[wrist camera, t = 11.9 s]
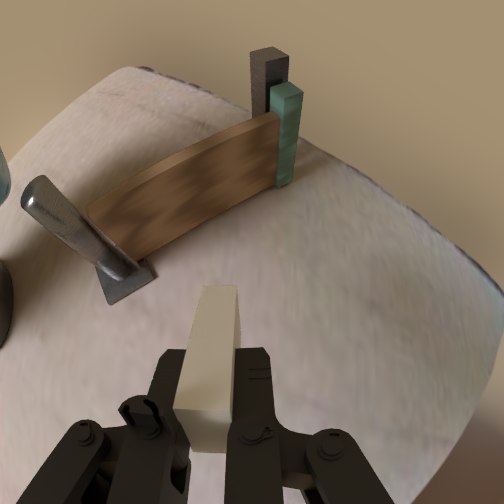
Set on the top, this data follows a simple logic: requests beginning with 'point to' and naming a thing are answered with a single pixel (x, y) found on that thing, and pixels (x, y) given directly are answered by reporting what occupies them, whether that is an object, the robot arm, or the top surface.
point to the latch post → (266, 76)
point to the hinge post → (85, 239)
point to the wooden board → (203, 179)
